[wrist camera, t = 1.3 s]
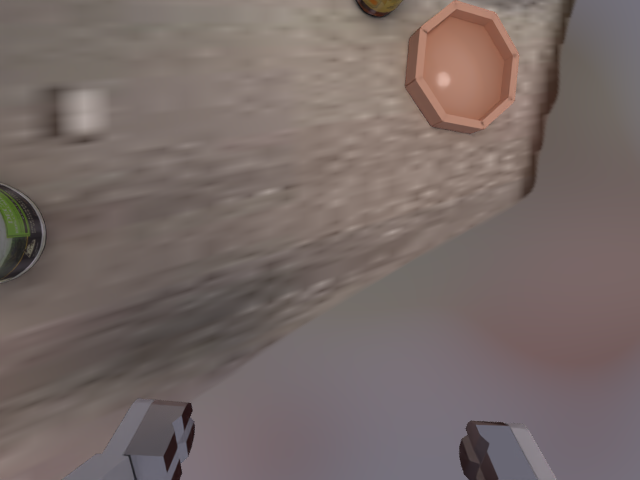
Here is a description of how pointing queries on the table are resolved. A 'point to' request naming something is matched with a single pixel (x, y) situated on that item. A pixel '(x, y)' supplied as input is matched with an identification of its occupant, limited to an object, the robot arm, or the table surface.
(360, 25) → the table surface
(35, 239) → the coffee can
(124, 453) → the robot arm
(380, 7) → the sauce bottle
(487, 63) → the terracotta saucer
